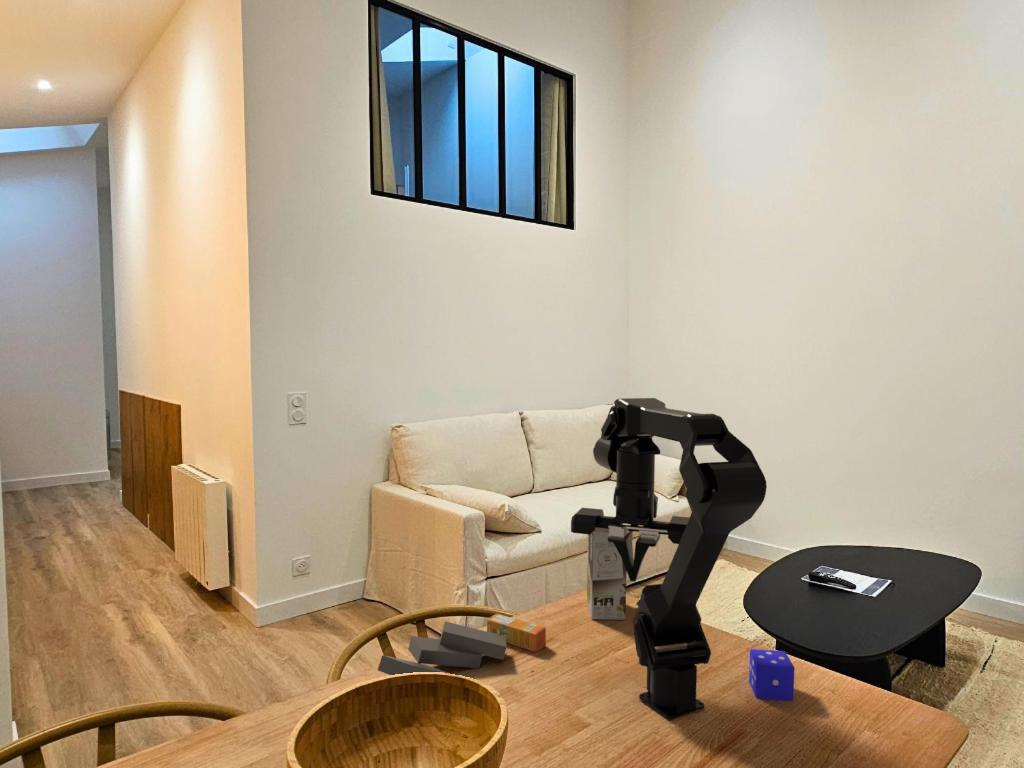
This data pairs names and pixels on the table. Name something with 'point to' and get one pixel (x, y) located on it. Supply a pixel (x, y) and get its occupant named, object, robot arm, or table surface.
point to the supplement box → (518, 632)
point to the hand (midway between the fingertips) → (633, 580)
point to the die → (771, 675)
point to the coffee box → (605, 578)
